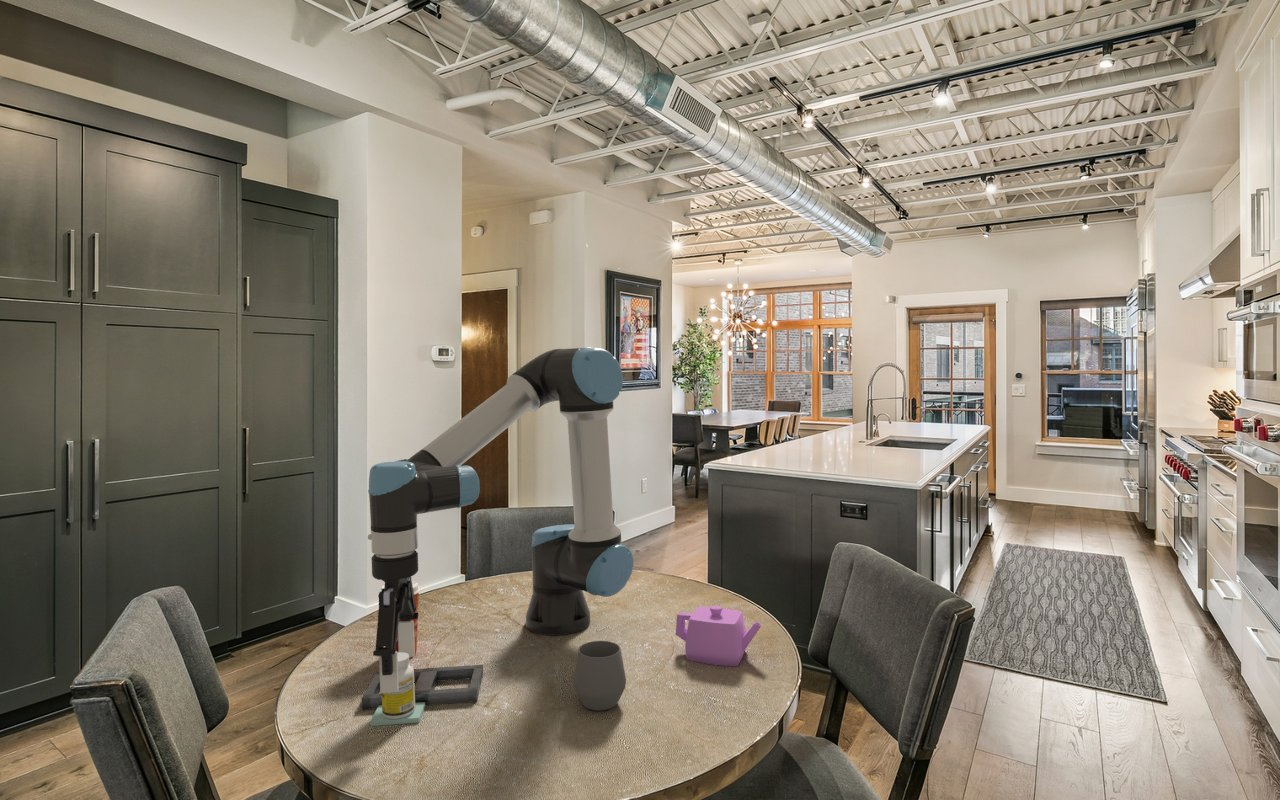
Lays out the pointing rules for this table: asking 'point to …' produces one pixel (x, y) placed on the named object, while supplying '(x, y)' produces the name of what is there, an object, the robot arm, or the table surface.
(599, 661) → the cup
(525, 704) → the table surface
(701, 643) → the teapot
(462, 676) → the grey rectangular frame
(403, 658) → the supplement bottle
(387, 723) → the mat
